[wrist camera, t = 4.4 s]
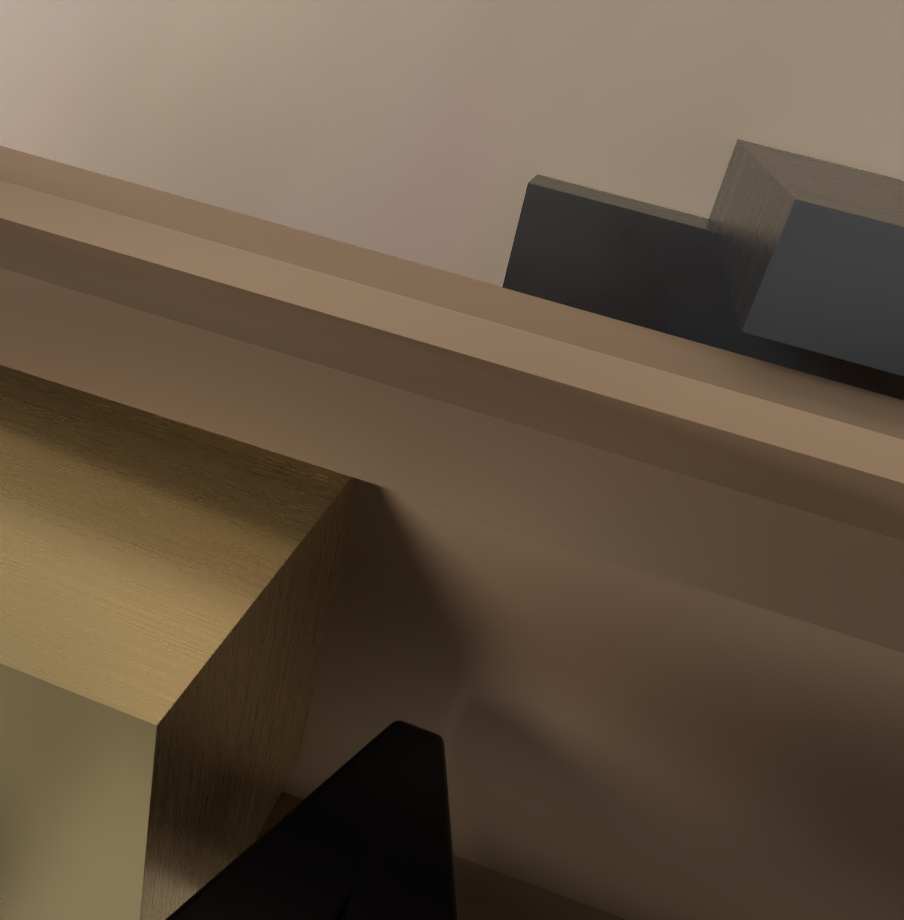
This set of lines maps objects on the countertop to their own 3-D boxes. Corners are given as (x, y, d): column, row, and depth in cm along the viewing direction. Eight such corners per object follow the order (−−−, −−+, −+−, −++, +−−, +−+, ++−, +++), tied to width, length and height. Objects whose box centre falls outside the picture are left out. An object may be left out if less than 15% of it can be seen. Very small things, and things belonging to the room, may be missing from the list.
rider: (297, 762, 11) (125, 1080, 8) (-20, 637, 12) (-316, 882, 8) (364, 460, 9) (157, 725, 5) (-39, 319, 9) (-475, 473, 6)
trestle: (759, 794, 17) (800, 1109, 12) (411, 677, 18) (309, 924, 13) (1097, 229, 11) (1465, 370, 6) (557, 94, 12) (478, 118, 7)
